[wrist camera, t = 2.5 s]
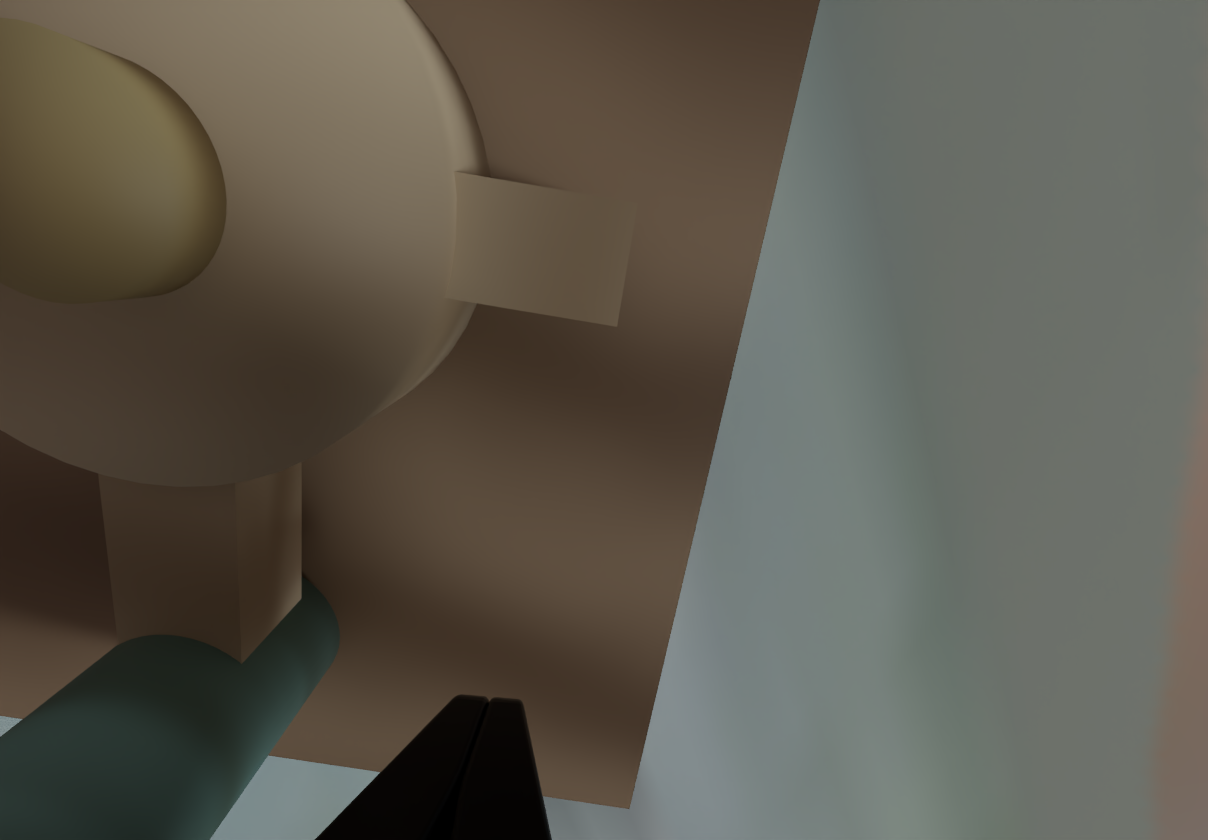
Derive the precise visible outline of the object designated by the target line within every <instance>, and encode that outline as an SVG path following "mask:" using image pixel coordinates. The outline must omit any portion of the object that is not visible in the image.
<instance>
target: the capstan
mask: <svg viewBox="0 0 1208 840" xmlns="http://www.w3.org/2000/svg"><path fill="white" fill-rule="evenodd" d="M637 205H638V203H634V202H629V201H623V200H617V199H611V198H605V197H600V196H594V195H588V194H582V193H576V192H571V191H565V190H559V189H553V188H547V187H541V186H536V185H530V184H524V183H518V182H512V181H507V180H501V179H495V178H491V176H490V170H489V165H488V160H487V155H486V150H485V146H484V141H483V137H482V134H481V131H480V128H479V125H478V122H477V119H476V116H475V113H474V110H473V107H472V104H471V102H470V100H469V98H468V95H467V93H466V91H465V89H464V87H463V85H462V83H461V80H460V78H459V76H458V74H457V72H456V70H455V68H454V66H453V65H452V63H451V62H450V60H449V58H448V57H447V55H446V53H445V52H444V50H443V49H442V47H441V45H440V44H439V42H438V40H437V39H436V37H435V36H434V34H433V33H432V32H431V31H430V29H429V28H428V27H427V26H426V24H425V23H424V22H423V21H422V19H421V18H420V17H419V15H418V14H417V13H416V12H415V10H414V9H413V8H412V7H411V5H410V4H409V3H408V2H407V1H406V0H0V430H1V431H3V432H5V433H7V434H8V435H10V436H12V437H14V438H15V439H17V440H19V441H21V442H22V443H24V444H26V445H27V446H30V447H32V448H34V449H36V450H38V451H41V452H43V453H45V454H47V455H50V456H52V457H54V458H56V459H58V460H61V461H63V462H65V463H68V464H71V465H74V466H77V467H80V468H83V469H86V470H89V471H92V472H95V473H98V478H99V486H100V495H101V503H102V512H103V520H104V529H105V538H106V546H107V555H108V563H109V572H110V580H111V589H112V598H113V606H114V615H115V623H116V632H117V640H118V645H117V646H115V647H114V648H113V649H111V650H110V651H109V652H108V653H106V654H105V655H104V656H103V657H101V658H100V659H99V660H98V661H96V662H95V663H94V664H92V665H91V666H90V667H89V668H87V669H86V670H85V671H84V672H82V673H81V674H80V675H78V676H77V677H76V678H75V679H73V680H72V681H71V682H70V683H68V684H67V685H66V686H64V687H63V688H62V689H61V690H59V691H58V692H57V693H56V694H54V695H53V696H52V697H50V698H49V699H48V700H47V701H45V702H44V703H43V704H42V705H40V706H39V707H38V708H37V709H35V710H34V711H33V712H31V713H30V714H29V715H28V716H26V717H25V718H24V719H23V720H21V721H20V722H19V723H17V724H16V725H15V726H14V727H12V728H11V729H10V730H9V731H7V732H6V733H5V734H3V735H2V736H1V737H0V840H210V838H211V837H212V835H213V834H214V832H215V831H216V829H217V828H218V827H219V825H220V824H221V822H222V821H223V819H224V818H225V817H226V815H227V814H228V812H229V811H230V809H231V808H232V806H233V805H234V804H235V802H236V801H237V799H238V798H239V796H240V795H241V794H242V792H243V791H244V789H245V788H246V786H247V785H248V783H249V782H250V781H251V779H252V778H253V776H254V775H255V773H256V772H257V771H258V769H259V768H260V766H261V765H262V763H263V762H264V760H265V759H266V758H267V756H268V755H269V753H270V752H271V750H272V749H273V748H274V746H275V745H276V743H277V742H278V740H279V739H280V737H281V736H282V735H283V733H284V732H285V730H286V729H287V727H288V726H289V725H290V723H291V722H292V720H293V719H294V717H295V716H296V714H297V713H298V712H299V710H300V709H301V707H302V706H303V704H304V703H305V702H306V700H307V699H308V697H309V696H310V694H311V693H312V691H313V690H314V689H315V687H316V686H317V684H318V683H319V681H320V680H321V678H322V677H323V676H324V674H325V673H326V671H327V670H328V668H329V667H330V666H331V664H332V663H333V661H334V659H335V657H336V655H337V652H338V648H339V642H340V631H339V625H338V621H337V618H336V615H335V613H334V611H333V609H332V607H331V605H330V604H329V602H328V601H327V599H326V598H325V597H324V595H323V594H322V593H321V592H320V591H319V590H318V589H317V588H316V587H315V586H314V585H313V584H312V583H311V582H309V581H308V580H306V579H305V578H304V577H302V576H301V561H302V462H303V461H305V460H307V459H309V458H311V457H313V456H315V455H316V454H318V453H319V452H321V451H323V450H324V449H326V448H327V447H329V446H330V445H332V444H333V443H335V442H336V441H338V440H340V439H341V438H343V437H344V436H346V435H347V434H349V433H350V432H351V431H353V430H354V429H356V428H357V427H359V426H360V425H362V424H363V423H365V422H366V421H368V420H369V419H371V418H372V417H374V416H375V415H377V414H378V413H379V412H381V411H382V410H384V409H385V408H387V407H388V406H390V405H391V404H393V403H394V402H396V401H397V400H399V399H400V398H402V397H403V396H405V395H406V394H408V393H409V392H410V391H412V390H413V389H415V388H416V387H417V386H418V385H419V384H420V383H421V382H422V381H424V380H425V379H426V378H427V377H428V376H429V375H430V374H432V373H433V372H434V371H435V369H436V368H437V367H438V366H439V365H440V364H441V362H442V361H443V360H444V359H445V358H446V357H447V355H448V354H449V353H450V352H451V351H452V349H453V347H454V346H455V344H456V343H457V341H458V340H459V338H460V336H461V335H462V333H463V332H464V330H465V329H466V327H467V325H468V322H469V320H470V318H471V316H472V314H473V311H474V309H475V307H476V305H477V303H478V304H484V305H490V306H496V307H502V308H508V309H514V310H520V311H526V312H532V313H538V314H544V315H550V316H556V317H562V318H568V319H574V320H580V321H586V322H592V323H598V324H604V325H610V326H615V327H617V324H618V318H619V312H620V306H621V300H622V294H623V288H624V282H625V276H626V270H627V264H628V258H629V253H630V247H631V241H632V235H633V229H634V223H635V217H636V211H637Z"/></svg>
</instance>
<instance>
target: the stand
mask: <svg viewBox="0 0 1208 840" xmlns="http://www.w3.org/2000/svg"><path fill="white" fill-rule="evenodd" d="M406 1H407V2H408V3H409V4H410V5H411V7H412V8H413V9H414V10H415V12H416V13H417V14H418V15H419V17H420V18H421V19H422V21H423V22H424V23H425V24H426V26H427V27H428V28H429V29H430V31H431V32H432V33H433V34H434V36H435V37H436V39H437V40H438V42H439V44H440V45H441V47H442V49H443V50H444V52H445V53H446V55H447V57H448V58H449V60H450V62H451V63H452V65H453V66H454V68H455V70H456V72H457V74H458V76H459V78H460V80H461V83H462V85H463V87H464V89H465V91H466V93H467V95H468V98H469V100H470V102H471V104H472V107H473V110H474V113H475V116H476V119H477V122H478V125H479V128H480V131H481V134H482V137H483V141H484V146H485V150H486V155H487V160H488V165H489V170H490V176H491V178H495V179H501V180H507V181H512V182H518V183H524V184H530V185H536V186H541V187H547V188H553V189H559V190H565V191H571V192H576V193H582V194H588V195H594V196H600V197H605V198H611V199H617V200H623V201H629V202H634V203H638V205H637V211H636V217H635V223H634V229H633V235H632V241H631V247H630V253H629V258H628V264H627V270H626V276H625V282H624V288H623V294H622V300H621V306H620V312H619V318H618V324H617V327H615V326H610V325H604V324H598V323H592V322H586V321H580V320H574V319H568V318H562V317H556V316H550V315H544V314H538V313H532V312H526V311H520V310H514V309H508V308H502V307H496V306H490V305H484V304H478V303H477V305H476V307H475V309H474V311H473V314H472V316H471V318H470V320H469V322H468V325H467V327H466V329H465V330H464V332H463V333H462V335H461V336H460V338H459V340H458V341H457V343H456V344H455V346H454V347H453V349H452V351H451V352H450V353H449V354H448V355H447V357H446V358H445V359H444V360H443V361H442V362H441V364H440V365H439V366H438V367H437V368H436V369H435V371H434V372H433V373H432V374H430V375H429V376H428V377H427V378H426V379H425V380H424V381H422V382H421V383H420V384H419V385H418V386H417V387H416V388H415V389H413V390H412V391H410V392H409V393H408V394H406V395H405V396H403V397H402V398H400V399H399V400H397V401H396V402H394V403H393V404H391V405H390V406H388V407H387V408H385V409H384V410H382V411H381V412H379V413H378V414H377V415H375V416H374V417H372V418H371V419H369V420H368V421H366V422H365V423H363V424H362V425H360V426H359V427H357V428H356V429H354V430H353V431H351V432H350V433H349V434H347V435H346V436H344V437H343V438H341V439H340V440H338V441H336V442H335V443H333V444H332V445H330V446H329V447H327V448H326V449H324V450H323V451H321V452H319V453H318V454H316V455H315V456H313V457H311V458H309V459H307V460H305V461H303V462H302V561H301V576H302V577H304V578H305V579H306V580H308V581H309V582H311V583H312V584H313V585H314V586H315V587H316V588H317V589H318V590H319V591H320V592H321V593H322V594H323V595H324V597H325V598H326V599H327V601H328V602H329V604H330V605H331V607H332V609H333V611H334V613H335V615H336V618H337V621H338V625H339V631H340V642H339V648H338V652H337V655H336V657H335V659H334V661H333V663H332V664H331V666H330V667H329V668H328V670H327V671H326V673H325V674H324V676H323V677H322V678H321V680H320V681H319V683H318V684H317V686H316V687H315V689H314V690H313V691H312V693H311V694H310V696H309V697H308V699H307V700H306V702H305V703H304V704H303V706H302V707H301V709H300V710H299V712H298V713H297V714H296V716H295V717H294V719H293V720H292V722H291V723H290V725H289V726H288V727H287V729H286V730H285V732H284V733H283V735H282V736H281V737H280V739H279V740H278V742H277V743H276V745H275V746H274V748H273V749H272V750H271V752H270V753H269V756H276V757H283V758H289V759H296V760H303V761H310V762H316V763H323V764H330V765H337V766H343V767H350V768H357V769H364V770H370V771H377V772H381V771H382V770H383V769H384V768H385V767H386V766H387V765H388V764H389V763H390V762H391V761H392V760H393V759H394V758H395V757H396V756H397V755H398V754H399V753H400V752H401V751H402V750H403V749H404V748H405V747H406V746H407V745H408V744H409V743H410V742H411V741H412V740H413V739H414V738H415V737H416V735H417V734H418V733H419V732H420V731H421V730H422V729H423V728H424V727H425V726H426V725H427V724H428V723H429V722H430V721H431V720H432V719H433V718H434V717H435V716H436V715H437V714H438V713H439V712H440V711H441V710H442V709H443V708H444V707H445V706H446V705H447V704H448V703H449V702H450V701H451V700H452V699H453V698H454V697H455V696H457V695H460V694H465V695H477V696H485V697H487V698H488V699H489V701H490V700H491V699H492V698H494V697H501V698H513V699H520V700H521V701H522V702H523V704H524V709H525V714H526V718H527V723H528V728H529V733H530V738H531V742H532V747H533V752H534V757H535V762H536V766H537V771H538V776H539V781H540V786H541V790H542V795H543V796H545V797H552V798H559V799H566V800H572V801H579V802H586V803H593V804H599V805H606V806H613V807H620V808H626V809H629V808H630V804H631V799H632V795H633V791H634V787H635V782H636V778H637V774H638V770H639V765H640V761H641V757H642V753H643V748H644V744H645V740H646V736H647V731H648V727H649V723H650V719H651V715H652V710H653V706H654V702H655V698H656V693H657V689H658V685H659V681H660V676H661V672H662V668H663V664H664V659H665V655H666V651H667V647H668V642H669V638H670V634H671V630H672V625H673V621H674V617H675V613H676V608H677V604H678V600H679V596H680V591H681V587H682V583H683V579H684V574H685V570H686V566H687V562H688V557H689V553H690V549H691V545H692V541H693V536H694V532H695V528H696V524H697V519H698V515H699V511H700V507H701V502H702V498H703V494H704V490H705V485H706V481H707V477H708V473H709V468H710V464H711V460H712V456H713V451H714V447H715V443H716V439H717V434H718V430H719V426H720V422H721V417H722V413H723V409H724V405H725V400H726V396H727V392H728V388H729V383H730V379H731V375H732V371H733V367H734V362H735V358H736V354H737V350H738V345H739V341H740V337H741V333H742V328H743V324H744V320H745V316H746V311H747V307H748V303H749V299H750V294H751V290H752V286H753V282H754V277H755V273H756V269H757V265H758V260H759V256H760V252H761V248H762V243H763V239H764V235H765V231H766V226H767V222H768V218H769V214H770V209H771V205H772V201H773V197H774V193H775V188H776V184H777V180H778V176H779V171H780V167H781V163H782V159H783V154H784V150H785V146H786V142H787V137H788V133H789V129H790V125H791V120H792V116H793V112H794V108H795V103H796V99H797V95H798V91H799V86H800V82H801V78H802V74H803V69H804V65H805V61H806V57H807V52H808V48H809V44H810V40H811V35H812V31H813V27H814V23H815V19H816V14H817V10H818V6H819V2H820V0H406ZM117 645H118V640H117V632H116V623H115V615H114V606H113V598H112V589H111V580H110V572H109V563H108V555H107V546H106V538H105V529H104V520H103V512H102V503H101V495H100V486H99V478H98V473H95V472H92V471H89V470H86V469H83V468H80V467H77V466H74V465H71V464H68V463H65V462H63V461H61V460H58V459H56V458H54V457H52V456H50V455H47V454H45V453H43V452H41V451H38V450H36V449H34V448H32V447H30V446H27V445H26V444H24V443H22V442H21V441H19V440H17V439H15V438H14V437H12V436H10V435H8V434H7V433H5V432H3V431H1V430H0V716H6V717H13V718H20V719H24V718H25V717H26V716H28V715H29V714H30V713H31V712H33V711H34V710H35V709H37V708H38V707H39V706H40V705H42V704H43V703H44V702H45V701H47V700H48V699H49V698H50V697H52V696H53V695H54V694H56V693H57V692H58V691H59V690H61V689H62V688H63V687H64V686H66V685H67V684H68V683H70V682H71V681H72V680H73V679H75V678H76V677H77V676H78V675H80V674H81V673H82V672H84V671H85V670H86V669H87V668H89V667H90V666H91V665H92V664H94V663H95V662H96V661H98V660H99V659H100V658H101V657H103V656H104V655H105V654H106V653H108V652H109V651H110V650H111V649H113V648H114V647H115V646H117Z"/></svg>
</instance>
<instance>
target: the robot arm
mask: <svg viewBox="0 0 1208 840" xmlns="http://www.w3.org/2000/svg"><path fill="white" fill-rule="evenodd" d="M315 840H552V839H551V834H550V829H549V824H548V819H547V814H546V810H545V805H544V800H543V795H542V790H541V786H540V781H539V776H538V771H537V766H536V762H535V757H534V752H533V747H532V742H531V738H530V733H529V728H528V723H527V718H526V714H525V709H524V704H523V702H522V701H521V700H520V699H513V698H501V697H494V698H492V699H491V700H490V701H489V699H488V698H487V697H485V696H477V695H465V694H460V695H457V696H455V697H454V698H453V699H452V700H451V701H450V702H449V703H448V704H447V705H446V706H445V707H444V708H443V709H442V710H441V711H440V712H439V713H438V714H437V715H436V716H435V717H434V718H433V719H432V720H431V721H430V722H429V723H428V724H427V725H426V726H425V727H424V728H423V729H422V730H421V731H420V732H419V733H418V734H417V735H416V737H415V738H414V739H413V740H412V741H411V742H410V743H409V744H408V745H407V746H406V747H405V748H404V749H403V750H402V751H401V752H400V753H399V754H398V755H397V756H396V757H395V758H394V759H393V760H392V761H391V762H390V763H389V764H388V765H387V766H386V767H385V768H384V769H383V770H382V771H381V772H380V773H379V774H378V775H377V776H376V778H375V779H374V780H373V781H372V782H371V783H370V784H369V785H368V786H367V787H366V788H365V789H364V790H363V791H362V792H361V793H360V794H359V795H358V796H357V797H356V798H355V799H354V800H353V801H352V802H351V803H350V804H349V805H348V806H347V807H346V808H345V809H344V810H343V811H342V812H341V813H340V814H339V815H338V816H337V818H336V819H335V820H334V821H333V822H332V823H331V824H330V825H329V826H328V827H327V828H326V829H325V830H324V831H323V832H322V833H321V834H320V835H319V836H318V837H317V838H316V839H315Z"/></svg>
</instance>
